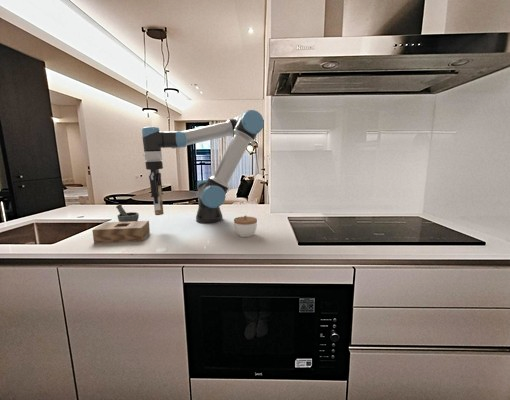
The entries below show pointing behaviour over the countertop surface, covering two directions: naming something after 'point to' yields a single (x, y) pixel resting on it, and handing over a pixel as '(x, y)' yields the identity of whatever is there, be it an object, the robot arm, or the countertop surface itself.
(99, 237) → the socket block
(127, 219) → the mortar and pestle
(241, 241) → the countertop surface
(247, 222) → the lidded jar
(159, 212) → the dowel
